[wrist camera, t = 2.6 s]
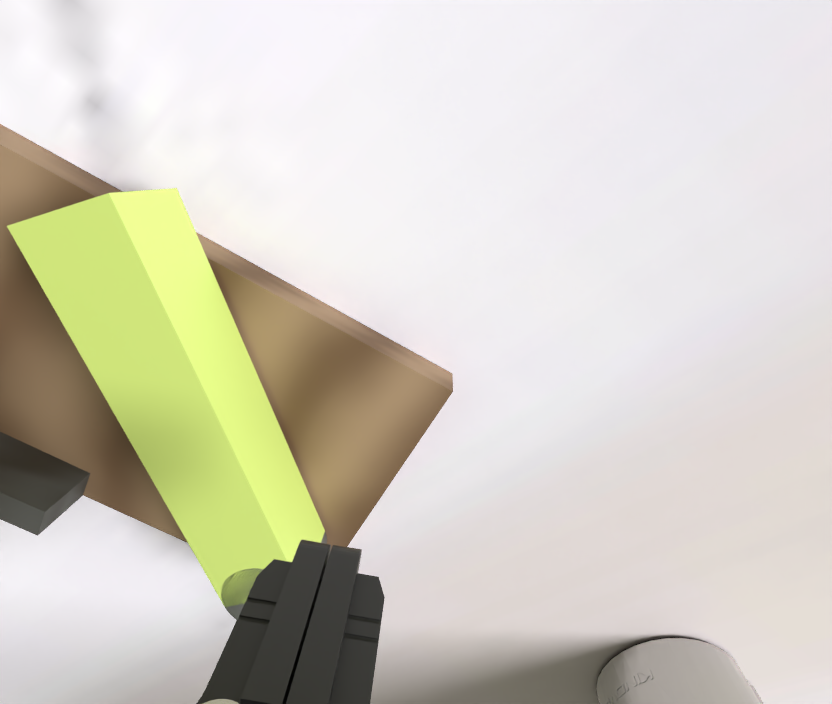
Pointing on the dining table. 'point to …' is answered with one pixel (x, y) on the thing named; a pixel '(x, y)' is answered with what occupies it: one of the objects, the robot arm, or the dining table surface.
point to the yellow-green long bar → (175, 377)
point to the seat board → (269, 352)
